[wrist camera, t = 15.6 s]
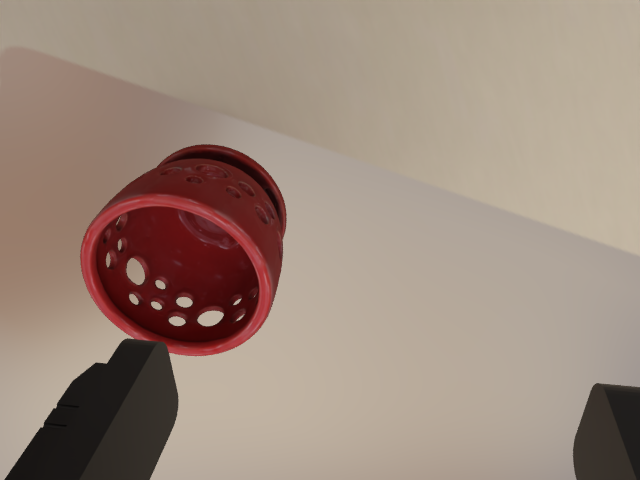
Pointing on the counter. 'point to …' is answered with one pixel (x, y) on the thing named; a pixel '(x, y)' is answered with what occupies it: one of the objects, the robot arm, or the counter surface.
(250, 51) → the counter surface
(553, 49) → the counter surface
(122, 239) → the plant pot
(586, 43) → the counter surface
